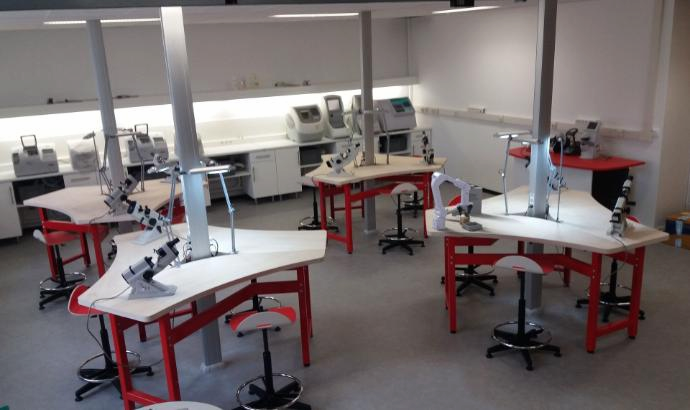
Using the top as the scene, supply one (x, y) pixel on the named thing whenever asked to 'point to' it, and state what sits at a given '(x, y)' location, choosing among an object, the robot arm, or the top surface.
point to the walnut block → (464, 220)
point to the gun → (455, 212)
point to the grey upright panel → (475, 199)
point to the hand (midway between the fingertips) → (464, 214)
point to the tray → (471, 226)
